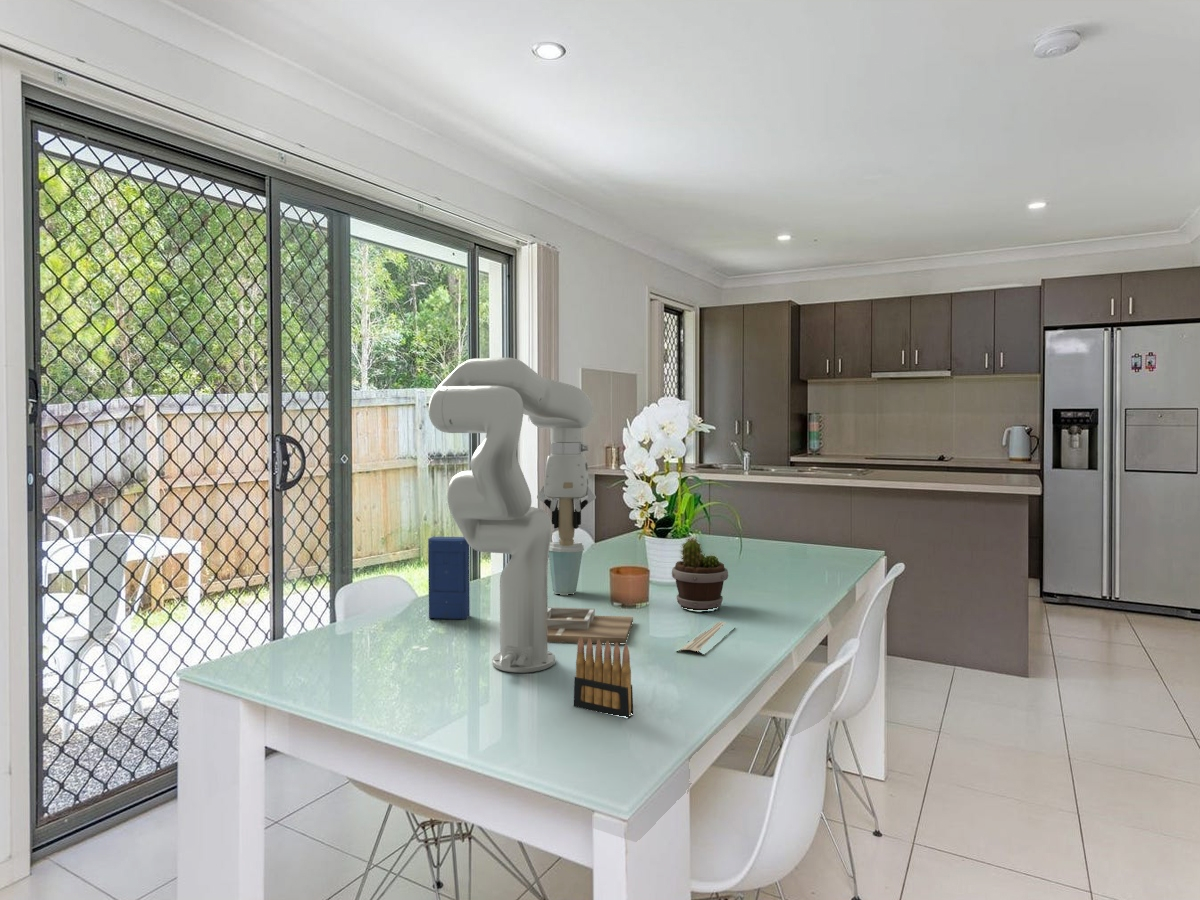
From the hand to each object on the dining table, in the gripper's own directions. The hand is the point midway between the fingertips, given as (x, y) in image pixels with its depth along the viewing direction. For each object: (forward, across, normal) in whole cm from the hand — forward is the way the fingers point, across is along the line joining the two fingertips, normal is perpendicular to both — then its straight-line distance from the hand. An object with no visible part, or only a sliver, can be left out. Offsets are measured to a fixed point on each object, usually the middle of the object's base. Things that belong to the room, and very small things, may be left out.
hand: (566, 527), depth 171 cm
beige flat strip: (+25, -32, +4) cm, 41 cm away
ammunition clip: (+24, -15, +48) cm, 56 cm away
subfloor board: (+24, -4, +2) cm, 25 cm away
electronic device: (+24, +31, -6) cm, 40 cm away
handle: (+4, 0, 0) cm, 4 cm away
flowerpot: (+24, -31, -24) cm, 46 cm away
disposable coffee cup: (+24, +7, -36) cm, 44 cm away
